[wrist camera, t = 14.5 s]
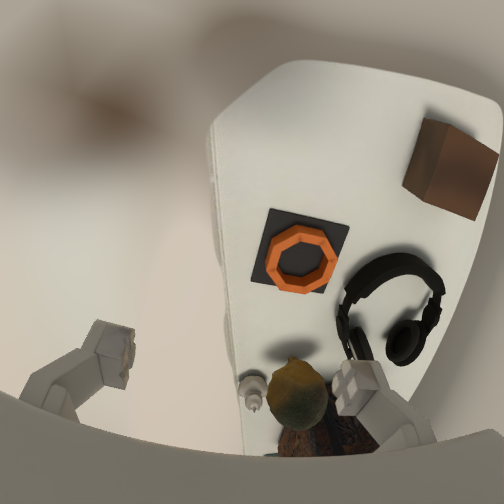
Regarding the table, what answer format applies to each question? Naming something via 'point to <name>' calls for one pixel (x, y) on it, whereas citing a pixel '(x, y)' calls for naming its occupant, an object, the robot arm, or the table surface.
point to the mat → (296, 246)
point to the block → (450, 169)
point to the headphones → (406, 332)
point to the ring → (309, 280)
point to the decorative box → (328, 436)
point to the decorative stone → (297, 395)
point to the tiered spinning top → (253, 391)
